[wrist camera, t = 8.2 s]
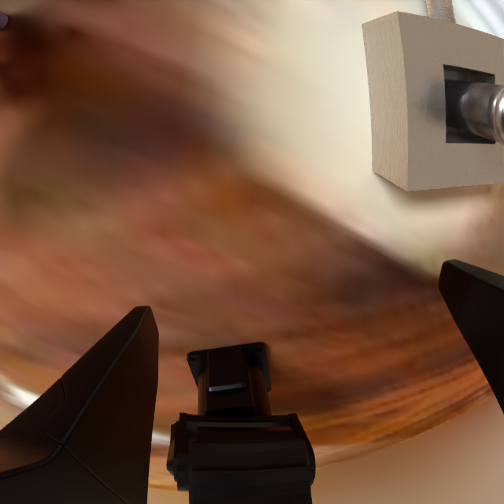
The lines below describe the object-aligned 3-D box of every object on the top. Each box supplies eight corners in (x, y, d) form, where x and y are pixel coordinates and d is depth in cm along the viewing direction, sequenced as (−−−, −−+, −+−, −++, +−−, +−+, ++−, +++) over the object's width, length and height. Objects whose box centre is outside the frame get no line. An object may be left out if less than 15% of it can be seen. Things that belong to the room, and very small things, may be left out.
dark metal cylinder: (452, 124, 18) (535, 151, 11) (417, 122, 18) (502, 149, 11) (451, 80, 17) (537, 92, 10) (415, 75, 17) (503, 83, 10)
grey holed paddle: (476, 165, 20) (514, 182, 16) (372, 171, 20) (407, 191, 16) (450, -62, 11) (484, -75, 7) (335, -92, 11) (359, -121, 7)
